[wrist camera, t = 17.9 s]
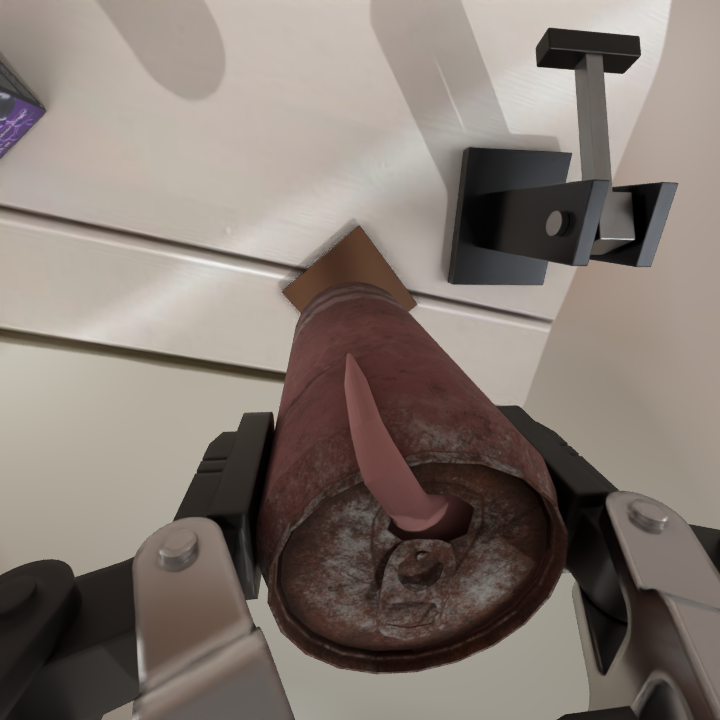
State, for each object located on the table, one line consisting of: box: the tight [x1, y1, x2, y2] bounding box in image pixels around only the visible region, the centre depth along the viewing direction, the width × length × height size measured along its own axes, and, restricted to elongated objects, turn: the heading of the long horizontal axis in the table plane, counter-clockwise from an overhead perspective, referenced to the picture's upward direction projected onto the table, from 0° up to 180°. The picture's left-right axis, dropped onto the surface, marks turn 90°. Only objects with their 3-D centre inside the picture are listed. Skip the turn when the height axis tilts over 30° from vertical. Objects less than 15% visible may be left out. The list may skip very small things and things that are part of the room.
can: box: [256, 281, 568, 674], centre depth 13 cm, size 6×6×14 cm
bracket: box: [448, 147, 678, 285], centre depth 26 cm, size 11×9×14 cm
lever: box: [536, 28, 641, 255], centre depth 21 cm, size 13×6×2 cm, turn 178°
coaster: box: [282, 226, 417, 313], centre depth 33 cm, size 9×9×1 cm
